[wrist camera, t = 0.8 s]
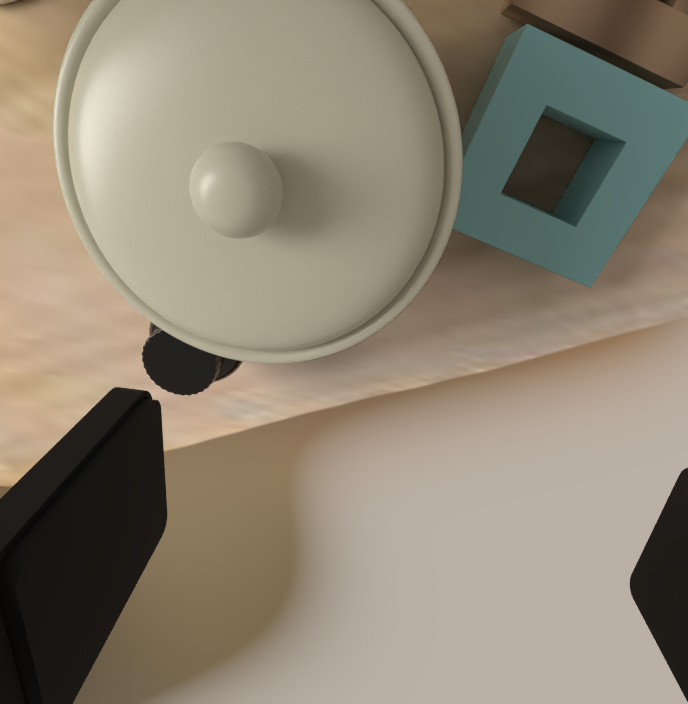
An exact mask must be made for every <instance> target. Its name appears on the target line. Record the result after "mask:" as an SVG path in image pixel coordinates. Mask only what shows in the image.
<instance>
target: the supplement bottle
mask: <svg viewBox="0 0 688 704" xmlns="http://www.w3.org/2000/svg"><path fill="white" fill-rule="evenodd" d="M149 336H150V337H149V338H148V339H147V340H146V344H145V345H144V346H143V350H144V351H143V352H142V355H143V359H142V361H143V363H144V368H145V369H146V372H147V374H148V375H149V376H150V378H151V379H152V380H153V381H154V382H155V384H156V385H159V386H160V387H161V388H162V389H165V390H167V391H168V392H172V393H174V394H180V395H191V394H197V393H198V392H202V391H204V389H206V388H208V387H209V386H210V384H212V383H213V382H216V381H220V380H222V379H224V378H227V377H228V376H230V375H231V374H233V373H234V372H235V371H236V370H237V369H238V368H239V366H240V365H241V364H242V362H243V361H239V360H234V359H229V358H225V357H221V356H218V355H215V354H212V353H209V352H206V351H203V350H201V349H198V348H196V347H193V346H191V345H189V344H187V343H185V342H183V341H181V340H179V339H177V338H175V337H174V336H172V335H170V334H168V333H167V332H165V331H164V330H162V329H161V328H159V327H158V326H156V325H155V324H153V323H152V322H150V328H149Z"/></svg>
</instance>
